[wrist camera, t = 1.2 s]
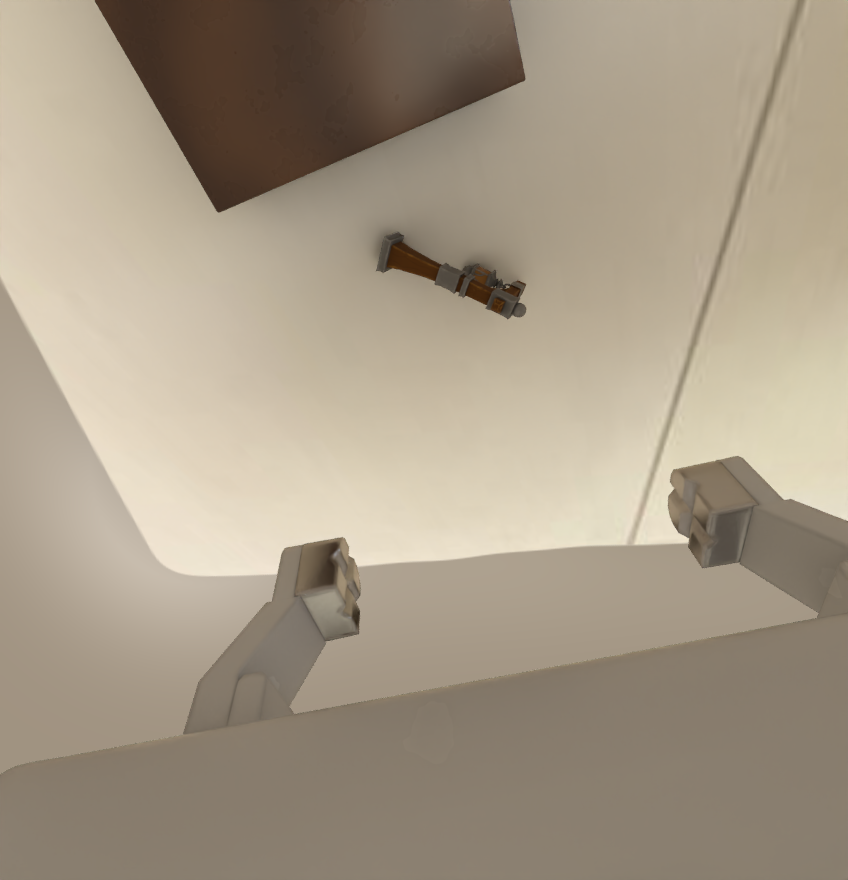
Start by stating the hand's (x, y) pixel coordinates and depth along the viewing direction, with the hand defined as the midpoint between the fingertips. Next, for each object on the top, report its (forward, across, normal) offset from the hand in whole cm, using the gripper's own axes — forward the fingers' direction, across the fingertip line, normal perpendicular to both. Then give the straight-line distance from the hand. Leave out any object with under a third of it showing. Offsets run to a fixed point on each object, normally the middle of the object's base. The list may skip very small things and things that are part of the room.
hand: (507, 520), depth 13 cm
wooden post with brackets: (+20, -1, -1) cm, 20 cm away
